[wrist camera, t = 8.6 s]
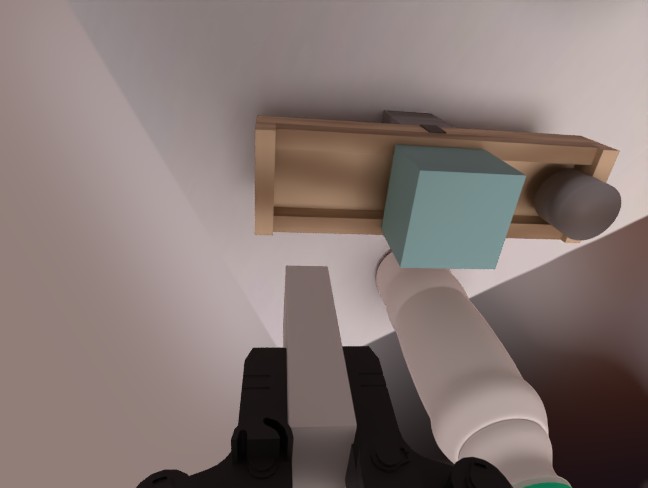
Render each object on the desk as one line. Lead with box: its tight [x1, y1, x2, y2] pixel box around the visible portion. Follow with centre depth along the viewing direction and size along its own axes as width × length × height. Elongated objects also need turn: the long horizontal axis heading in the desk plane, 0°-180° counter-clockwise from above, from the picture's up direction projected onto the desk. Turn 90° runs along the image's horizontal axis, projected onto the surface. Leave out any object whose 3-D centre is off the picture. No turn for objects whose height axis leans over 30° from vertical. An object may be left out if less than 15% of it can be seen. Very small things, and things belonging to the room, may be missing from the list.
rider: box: [381, 145, 526, 269], centre depth 26 cm, size 6×6×6 cm
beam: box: [255, 111, 621, 243], centre depth 30 cm, size 7×24×12 cm, turn 85°
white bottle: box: [376, 252, 572, 488], centre depth 30 cm, size 7×7×25 cm
